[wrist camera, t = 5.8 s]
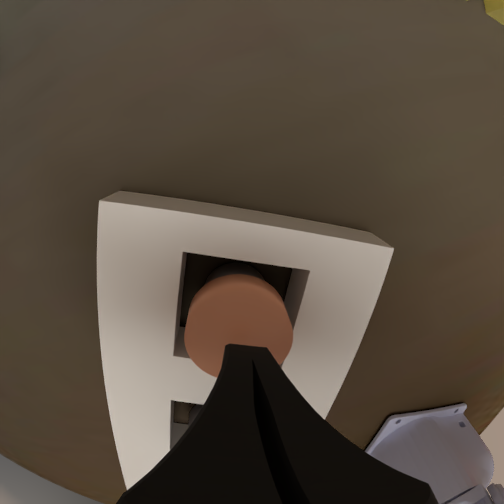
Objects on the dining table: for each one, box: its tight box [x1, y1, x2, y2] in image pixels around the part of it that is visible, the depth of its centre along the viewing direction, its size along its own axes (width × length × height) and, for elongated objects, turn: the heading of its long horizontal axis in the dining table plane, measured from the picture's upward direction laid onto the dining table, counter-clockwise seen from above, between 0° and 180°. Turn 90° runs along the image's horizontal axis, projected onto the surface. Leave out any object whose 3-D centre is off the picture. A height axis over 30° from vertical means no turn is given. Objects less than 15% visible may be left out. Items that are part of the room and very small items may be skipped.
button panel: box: [97, 191, 394, 490], centre depth 16 cm, size 12×24×2 cm, turn 169°
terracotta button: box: [184, 263, 293, 377], centre depth 13 cm, size 4×4×4 cm
